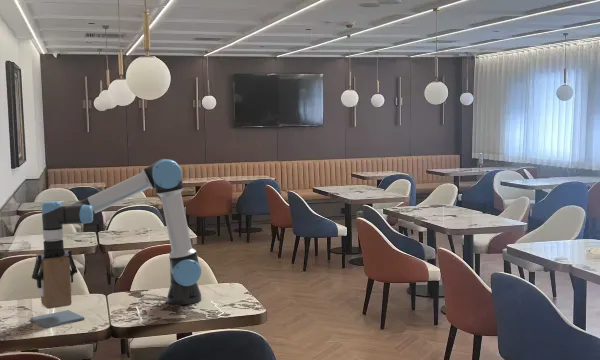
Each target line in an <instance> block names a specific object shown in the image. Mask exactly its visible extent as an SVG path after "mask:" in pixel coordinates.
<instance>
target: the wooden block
mask: <svg viewBox="0 0 600 360" xmlns="http://www.w3.org/2000/svg"><path fill="white" fill-rule="evenodd" d="M41 268H42V270H43V278H42V280H44V296H43V297H42V296H40V301H41V302H40V303H41V305H42V306H44V307H45V308H46V309H48V310H50V309H57V308H62V307H63V308H64V307H67V306H71V305H72V304H73V303H72V291H71V288H72V283H71V280H70V269H71V267H70V259H69V257H67V256H66V255H65V254H64V256H61V257H54V258H44V257H43V259H42V261H41V265H40V269H39V271H40V270H41Z"/></svg>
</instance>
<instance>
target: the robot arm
mask: <svg viewBox="0 0 600 360" xmlns="http://www.w3.org/2000/svg"><path fill="white" fill-rule="evenodd" d="M182 177H183V172H182V169H181V166H180V165H179V164H178V163H177V162H176V161H175V160H173V159H169V158H160V159H158V160H156V161H154V163H152V164H151V165H148V166H146V167H145V168H142V170H141V172H139V173H138V174H136V175H134V176H131V177H129V178H127V179H125V180H122V181H121V182H118V183H116V184H114V185H112V186H110V187H108V188H104V189H103V190H101V191H99V192H97V193H95V194H93V195H90V196H88V197H87V198H84V199H82V200H80V201H76V202H74V203H73V204H72V205H63V204H62V202H61V201H59V200H58V201H56V200H53V201H44V202H43V203H42V204H41V219H42V234H43V235H42V237H43V240H44V241H43V253H41V254H36V255H35V258H36V259H35V264H34V267H33V271H32V275H31V279H33V280H36V287H37V289H39V296H40V297H41V296H42V297H43V296H44V280H42V278H43V270H42V268H41V270H40V265H41V261H42V259H43V257H44V258H54V257H61V256H64V255H65V256H67V257H69V259H70V280H71V284H72V283H74V275H75V274H77V273H78V269H77V266H76V263H75V261H74V258H73V256H72V254H73V253H72V251H71V250H69V249H67V250H64V249H65V248H64V239H63V238H64V231H63V230H64V229H63V225H80V224H81V225H82V224H83V225H85V224H91V223H93V222H94V215H95V214H97V213H99V212H101V211H104V210H105V209H106V210H107V208H108V209H109V208H110V207H112V206H114V205H117V204H118V203H120V202H123V201H125V200H126V199H129V198H132V197H134V196H135V195H138V194H140V193H142V192H144V191H147V190H149V189H151V190H153V189H154V190H155V194H156V195H158V196H159V197H160V199H161V204H162V209H163V215H164V220H165V224H166V229H167V233H168V234H167V235H168V239H169V244H170V249H171V251H169V256H168V258H169V273H170V274H169V275H170V277H169V278H170V286H169V289H168V291H167V292H168V293H167V296H166V299H167V300H166V302H167V303H168V304H171V305H182V306H183V305H190V304H197V303H199V302H201V301H202V293H201V290H200V288H199V285H198V281H199V280H200V279H201V276H202V267H201V265H200V263H199V258H198V253H197V250H196V249H195V248H194V247H193V246H192V241H191V236H190V232H189V231H190V230H189V226H188V221H187V216H186V211H185V206H184V200H183V196H182V192H183V190H184V189H185V188H184V187H185V186H184V183H183V178H182ZM72 291H73V290H72V287H71V292H72Z"/></svg>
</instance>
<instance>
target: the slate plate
mask: <svg viewBox="0 0 600 360" xmlns="http://www.w3.org/2000/svg"><path fill="white" fill-rule="evenodd" d="M84 319H86V318H85V317H84V316H82V315H80V314H78V313H76V312H74V311H72V310H69V309H67V310H61V311H57V312H53V313H48V314H47V313H45V314H42V315H37V316H33V317H30V319H29V320H30V321H31V322H33V323H35V324H37V325H38V326H40V327H43V329H47V328H54V327H58V326H62V324H63V325H66V323H67V324H72V323H77V322H80V320H81V321H85V320H84ZM71 322H72V323H71Z"/></svg>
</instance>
